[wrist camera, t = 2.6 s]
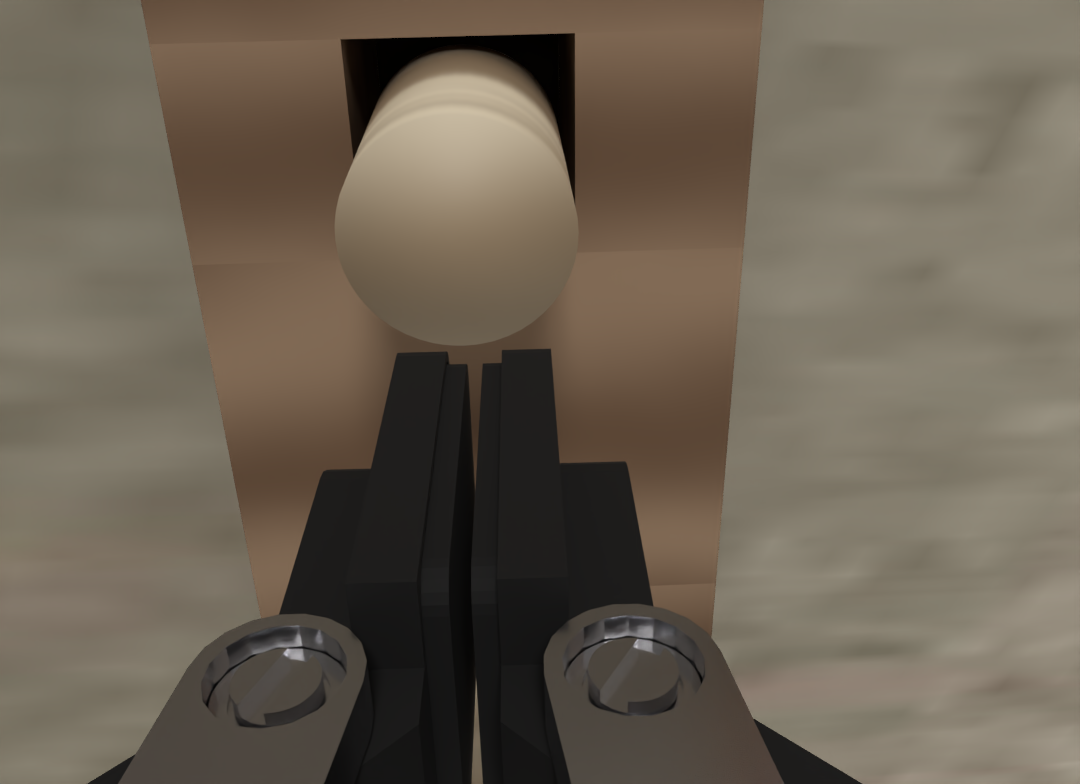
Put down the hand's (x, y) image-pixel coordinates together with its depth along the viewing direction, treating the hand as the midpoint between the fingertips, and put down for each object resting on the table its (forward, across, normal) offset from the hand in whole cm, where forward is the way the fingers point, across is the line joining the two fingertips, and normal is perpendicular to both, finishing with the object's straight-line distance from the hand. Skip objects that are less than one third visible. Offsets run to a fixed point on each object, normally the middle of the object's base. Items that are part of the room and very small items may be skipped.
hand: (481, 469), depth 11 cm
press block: (+18, +1, +6) cm, 19 cm away
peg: (+12, +1, -1) cm, 12 cm away
